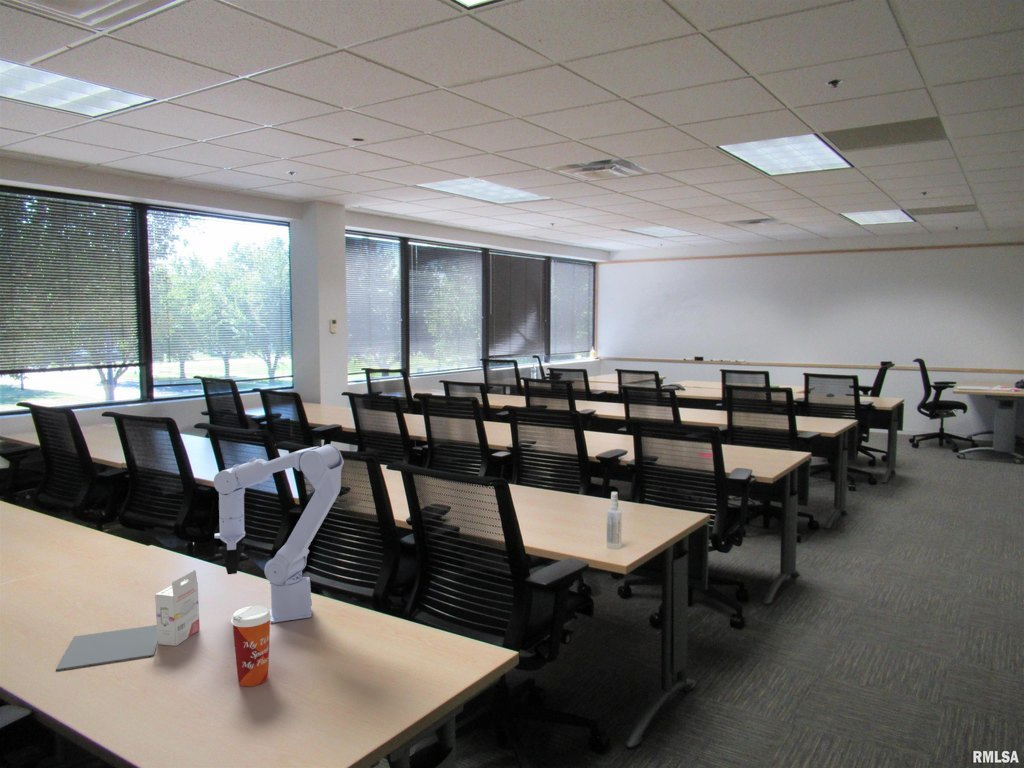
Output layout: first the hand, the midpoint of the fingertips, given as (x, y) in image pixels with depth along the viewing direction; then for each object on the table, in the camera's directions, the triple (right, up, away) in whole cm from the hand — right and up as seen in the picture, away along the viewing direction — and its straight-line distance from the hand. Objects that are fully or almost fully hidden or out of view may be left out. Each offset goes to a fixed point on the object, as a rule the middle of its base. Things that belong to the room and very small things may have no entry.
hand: (232, 569), depth 170 cm
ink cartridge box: (-6, -12, -15) cm, 20 cm away
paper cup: (+18, -13, -33) cm, 40 cm away
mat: (-19, -12, -19) cm, 29 cm away
